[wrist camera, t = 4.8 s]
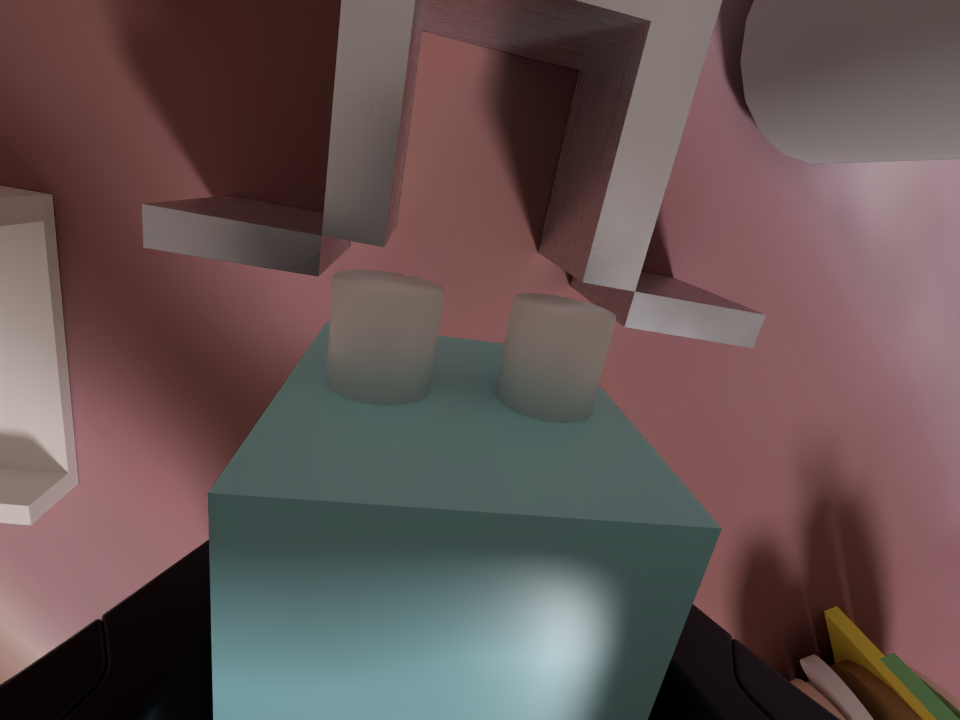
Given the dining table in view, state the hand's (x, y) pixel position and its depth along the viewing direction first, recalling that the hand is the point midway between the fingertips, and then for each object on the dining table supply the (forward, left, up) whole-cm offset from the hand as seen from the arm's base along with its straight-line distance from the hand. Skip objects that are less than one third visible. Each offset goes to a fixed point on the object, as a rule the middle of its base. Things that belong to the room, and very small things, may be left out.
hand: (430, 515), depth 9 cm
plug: (0, 0, 0) cm, 1 cm away
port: (+7, -1, -11) cm, 13 cm away
